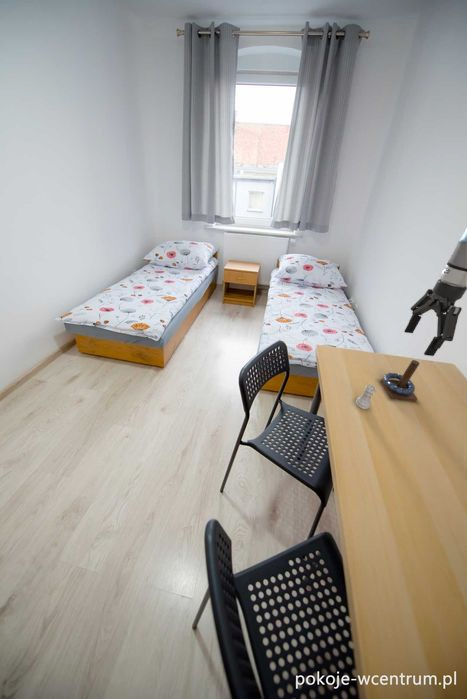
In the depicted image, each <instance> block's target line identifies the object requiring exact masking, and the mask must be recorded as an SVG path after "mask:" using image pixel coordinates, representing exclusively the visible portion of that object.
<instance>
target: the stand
mask: <svg viewBox="0 0 467 699" xmlns="http://www.w3.org/2000/svg"><path fill="white" fill-rule="evenodd" d="M419 366H420V361H417V360H415V359H411V361H410V363H409V365H408V366H407V368H406V369H405V371H404V372H403V374H402V375H403V376H402V377H401V379H400V380H398V379H391V378H390V379H389V380H390V382H391V383H392V384H394V385H395V386H397V387H399V388H403V389H407V388H408V386H407V385H406V384H407V383H408V381H409V380H411V378H412V377H413V375H414V373H415V372H416V370H417V369H418V367H419ZM380 384H381V385H382V387H383V389H384V390H385V392H386V394H387V395H388V397H389V399H390V400H396V401H397V400H398V401H405V402H415V403H416V402H417V400H418V397H417V396H416V394H415V392H413V393H411V394H409V395H404V394H399V393H396V392H394V391H392V390H391V389H389V388H388V387H387V386H386V385H385V383H384V381H383V378H381V379H380Z"/></svg>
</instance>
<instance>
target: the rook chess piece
mask: <svg viewBox="0 0 467 699" xmlns="http://www.w3.org/2000/svg"><path fill="white" fill-rule="evenodd" d="M376 392H377V391H376V386H374V385H373V384H372V385H371V384H368V385H366V386H365V387H364V390H363V394H362V395H360V396H358V397H357V398H356V400H355V404H356V406H357V407H358V408H360V409H362V410H367V409H369V408H370V407H371V398H372V396H374V394H375V393H376Z"/></svg>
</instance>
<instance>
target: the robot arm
mask: <svg viewBox="0 0 467 699" xmlns="http://www.w3.org/2000/svg"><path fill="white" fill-rule="evenodd" d="M466 291H467V228H466V229H465V231H464V232H463V233H462V235H461V237H460V239H459V240H458V242H457V244H456V246H455V248H454V250H453V252H452V253H451V256H450V257H449V259H448V260H447V263H446V265H445V266H444V268H443V270H442V272H441V274H440V275H439V279H437V280H436V283H435V285H434V286H433V288H428V289H427V290H426V291H425V292H424V295H422V296H421V297H420V298H419V299H418V300H417V301H416V302H415V303H414V304H413V305H412V306H411V307H410V311H412V313H411V314H412V315H411V317H410V319H409V320H408V323H407V325H406V327H405V328H404V331H403V332H404V333H405V334H414V332H415V330H416V328H417V326H418V325H419V323H420V321H421V319H422V316H423V315H424V314H426V313H427V312H429V311H433V312H434V313H435V315H436V317H437V329H436V336H433V338H432V339H431V341H430V343H429V344H428V346H427V347H426V349H425V351H424V353H423V355H424V356H429V357H434V356H435V355H436V353H437V352H438V350H440V349H441V347H442V346H443V344H444V343H445V342H453V340H454V337H455V332H456V327H457V324H458V320H459V316H460V314H461V312H462V310H463V308H462V307H461V306H456V305H455V304H456V302H457V301H459V300H461V299H462V298H463V296H464V295H465V294H466Z"/></svg>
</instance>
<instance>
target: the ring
mask: <svg viewBox="0 0 467 699" xmlns="http://www.w3.org/2000/svg"><path fill="white" fill-rule="evenodd" d="M402 376H403V374H401V373H396V372H387V373H385V374H384V375H383V378H382V379H383V381H384V383H385V385H386V386H387V387H388V388H389V389H391V390H392V391H394V392H396V393H399V394H404V395H409V394H411V393H415V390H416V386H415V384H414V383H413V381H412V380H411V379H410V380H409V381H408V383H407V384H406V385H407V386H408V388H407V389H403V388H399V387H397V386H395V385H394V384H392V383H391V382H390V380H391V379H393V380H398V381H400V379H401V377H402ZM389 379H390V380H389Z"/></svg>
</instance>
